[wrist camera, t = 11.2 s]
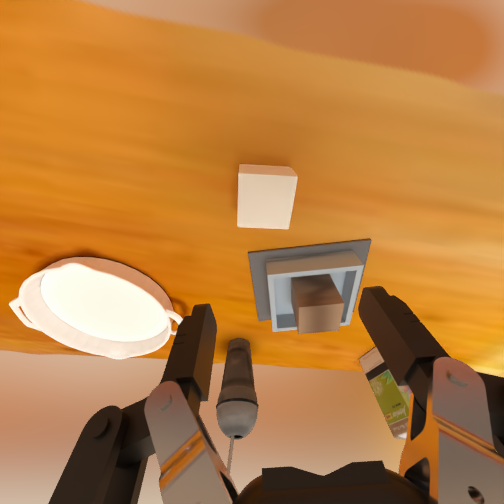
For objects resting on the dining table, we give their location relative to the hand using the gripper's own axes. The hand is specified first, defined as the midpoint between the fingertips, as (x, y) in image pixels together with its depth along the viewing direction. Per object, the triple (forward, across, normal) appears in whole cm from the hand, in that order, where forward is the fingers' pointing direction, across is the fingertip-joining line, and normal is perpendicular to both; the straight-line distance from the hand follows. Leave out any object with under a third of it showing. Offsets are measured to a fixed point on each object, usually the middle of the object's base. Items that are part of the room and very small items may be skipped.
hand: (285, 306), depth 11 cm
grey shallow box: (+18, -6, +17) cm, 25 cm away
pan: (+19, +28, +17) cm, 38 cm away
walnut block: (+17, -6, +17) cm, 25 cm away
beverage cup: (+18, +8, +33) cm, 38 cm away
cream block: (+18, 0, 0) cm, 18 cm away
